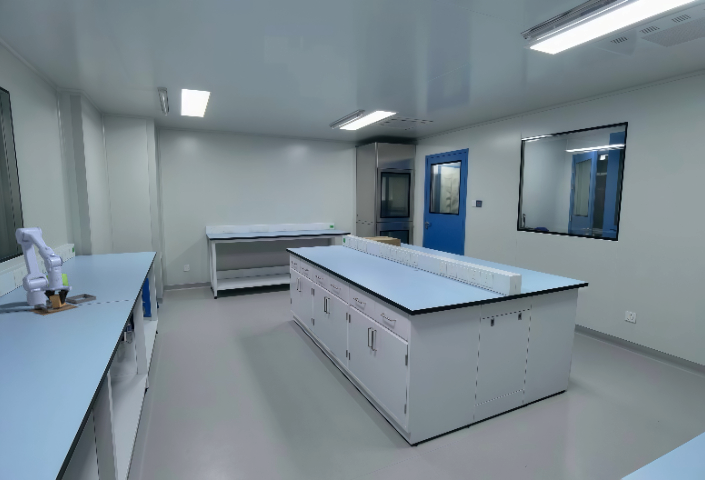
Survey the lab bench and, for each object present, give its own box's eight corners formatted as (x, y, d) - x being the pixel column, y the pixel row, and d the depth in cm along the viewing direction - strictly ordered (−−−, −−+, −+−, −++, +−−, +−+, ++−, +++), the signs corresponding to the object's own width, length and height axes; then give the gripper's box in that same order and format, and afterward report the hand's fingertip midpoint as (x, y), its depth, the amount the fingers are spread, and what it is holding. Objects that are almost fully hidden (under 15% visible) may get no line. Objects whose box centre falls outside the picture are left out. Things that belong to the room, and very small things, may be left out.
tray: (66, 302, 211) (65, 297, 210) (85, 298, 219) (85, 293, 219) (76, 305, 205) (76, 300, 204) (96, 301, 213) (95, 296, 213)
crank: (33, 309, 196) (31, 297, 195) (42, 307, 199) (40, 295, 198) (47, 313, 188) (46, 301, 187) (56, 311, 191) (55, 299, 190)
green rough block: (37, 290, 240) (34, 276, 239) (53, 286, 250) (50, 272, 248) (56, 291, 235) (53, 277, 233) (72, 287, 244) (69, 273, 243)
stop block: (50, 307, 195) (49, 296, 194) (56, 304, 199) (55, 294, 198) (59, 307, 195) (58, 296, 194) (65, 304, 200) (64, 293, 199)
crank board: (27, 312, 194) (27, 310, 194) (63, 304, 208) (62, 302, 208) (43, 317, 186) (43, 315, 186) (79, 308, 200) (79, 306, 200)
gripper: (34, 281, 191) (37, 306, 192) (64, 280, 192) (67, 305, 194) (44, 277, 198) (47, 302, 199) (73, 277, 199) (76, 301, 201)
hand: (58, 303), depth 197 cm, fingers closed on stop block, 4 cm apart
